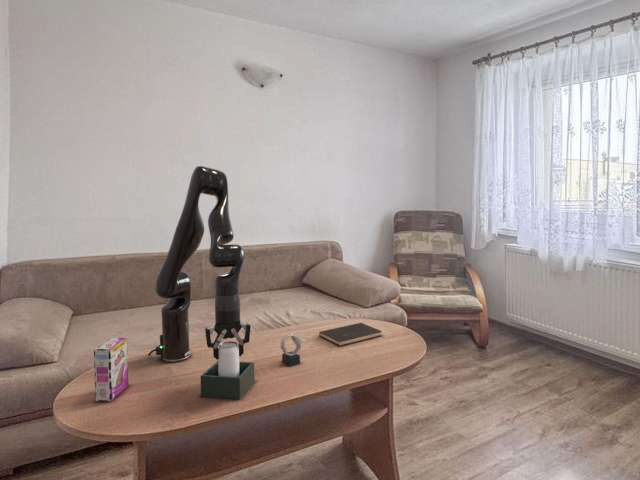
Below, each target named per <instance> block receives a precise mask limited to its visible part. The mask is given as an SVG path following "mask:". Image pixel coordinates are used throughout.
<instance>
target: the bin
mask: <svg viewBox="0 0 640 480" xmlns="http://www.w3.org/2000/svg"><path fill="white" fill-rule="evenodd" d="M254 383H255V362H253V361H239V377H226V376H218V360H216V362H214V364H212V365H211V366H210V367H209V368H207V370H205V371H204V372H203V373H202V374H201V375H200V397H202V398H215V399H216V398H217V399H231V400H241V399H242V397H244V395H245V394H246V393H247V391H248V390H250V388H251V386H252V385H253V384H254Z"/></svg>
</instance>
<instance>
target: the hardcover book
mask: <svg viewBox="0 0 640 480" xmlns="http://www.w3.org/2000/svg"><path fill="white" fill-rule="evenodd" d="M318 335H319V338H322V339H324V340H327V341H328V342H330V343H332V344H334V345H335V346H338V347H344V346H348V345H352V344H356V343H359V342H363V341H367V340H372V339H376V338H380V337H383V336H382V330H380V329H378V328H376V327H372V326H370V325H368V324H365V323H363V322H358V323H354V324H353V323H352V324H348V325H344V326H339V327H334V328H330V329H326V330H321V331H319V334H318Z"/></svg>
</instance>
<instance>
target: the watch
mask: <svg viewBox="0 0 640 480" xmlns="http://www.w3.org/2000/svg"><path fill="white" fill-rule="evenodd" d="M289 338H291V341H292V342H293V343H294V344H295V345H296V347H295V349H294V350H293V351H292V350H291V351H288V350H287V348H286V345H285V343H286V342H287V340H288V339H289ZM302 344H303V341H302V339H301V338H300V337H299V335H298V334H295V333H287V334H285V335H284V336H283V337H282V339H281V341H280V349H281V351H282V352H283V353H281V362H282V363H283V364H285V365H287V366H288V367H292V366H293V367H294V366H296V365H300V364H301V355H300V354H298V353H299V352H300V350H301V348H302Z"/></svg>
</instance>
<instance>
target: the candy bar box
mask: <svg viewBox="0 0 640 480" xmlns="http://www.w3.org/2000/svg"><path fill="white" fill-rule="evenodd" d="M128 357H129V355H128V338H127V337H111V338H110V339H108V340H106V341H105V342H104V343H102V344H101V345H99V346H97V347H96V348H94V349H93V364H94V365H93V366H94V368H93V369H94V392H95V395H94V396H95V402H112V401H114V400H115V399H116V398H117V397H118V396H119V395H120V394H121V393H122V392H123V391H124V390H125V389H126V388H127V387H128V386H129V361H128Z"/></svg>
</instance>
